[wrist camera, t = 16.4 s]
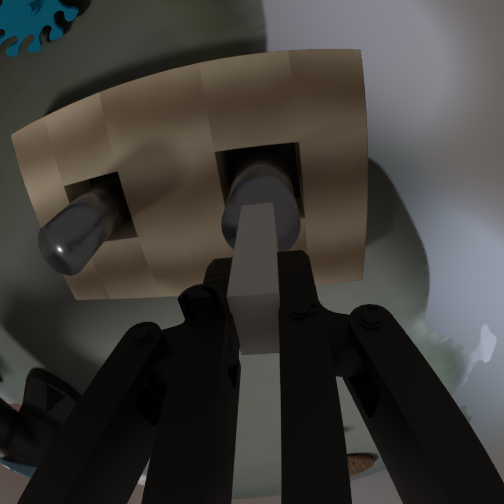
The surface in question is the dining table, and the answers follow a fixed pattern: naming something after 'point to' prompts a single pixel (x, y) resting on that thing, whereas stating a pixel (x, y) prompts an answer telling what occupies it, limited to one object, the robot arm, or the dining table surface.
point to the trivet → (359, 463)
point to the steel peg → (263, 195)
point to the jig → (207, 164)
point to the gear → (32, 21)
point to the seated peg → (83, 226)
